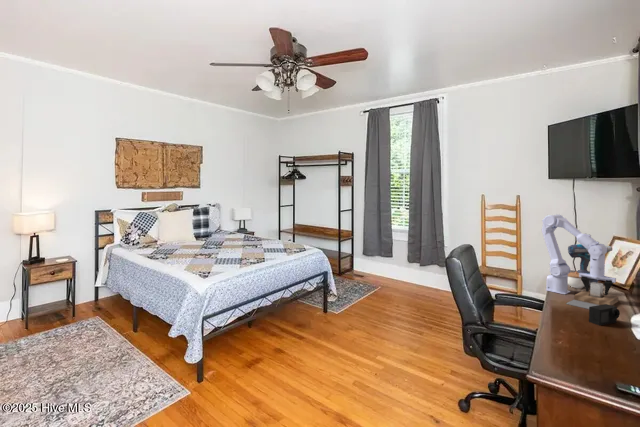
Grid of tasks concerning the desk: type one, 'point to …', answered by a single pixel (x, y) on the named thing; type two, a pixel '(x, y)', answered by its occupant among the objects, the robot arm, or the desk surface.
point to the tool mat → (581, 304)
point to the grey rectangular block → (596, 289)
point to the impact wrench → (583, 258)
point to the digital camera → (603, 314)
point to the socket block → (596, 298)
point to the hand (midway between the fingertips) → (596, 293)
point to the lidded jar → (575, 280)
